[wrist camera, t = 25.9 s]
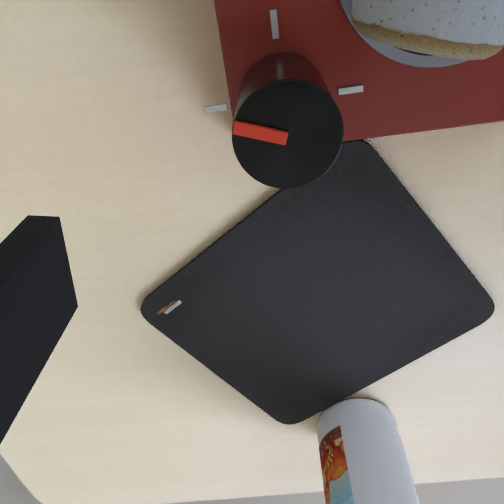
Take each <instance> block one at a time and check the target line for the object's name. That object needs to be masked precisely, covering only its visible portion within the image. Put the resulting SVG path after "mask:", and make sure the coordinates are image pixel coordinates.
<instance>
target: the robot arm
mask: <svg viewBox="0 0 504 504" xmlns="http://www.w3.org/2000/svg"><path fill="white" fill-rule="evenodd" d="M77 307H78V304H77V300H76V295H75V290H74V285H73V280H72V276H71V271H70V266H69V261H68V256H67V251H66V247H65V242H64V237H63V232H62V227H61V223H60V218H59V217H51V216H29V215H28V216H27V217H26V218H25V219H24V220H23V221H22V222H21V223H20V224H19V225H18V226H17V227H16V228H15V229H14V230H13V231H12V232H11V233H10V234H9V235H8V236H7V237H6V238H5V239H4V240H3V241H2V242H1V243H0V444H1V442H2V440H3V438H4V437H5V435H6V433H7V431H8V430H9V428H10V426H11V424H12V422H13V421H14V419H15V417H16V415H17V414H18V412H19V410H20V408H21V407H22V405H23V403H24V401H25V399H26V398H27V396H28V394H29V392H30V391H31V389H32V387H33V385H34V383H35V382H36V380H37V378H38V376H39V375H40V373H41V371H42V369H43V368H44V366H45V364H46V362H47V360H48V359H49V357H50V355H51V353H52V352H53V350H54V348H55V346H56V344H57V343H58V341H59V339H60V337H61V336H62V334H63V332H64V330H65V329H66V327H67V325H68V323H69V321H70V320H71V318H72V316H73V314H74V313H75V311H76V309H77Z"/></svg>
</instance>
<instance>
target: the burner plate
mask: <svg viewBox="0 0 504 504" xmlns="http://www.w3.org/2000/svg"><path fill="white" fill-rule="evenodd" d="M339 1H340V4H341V7H342V9H343V11H344V13H345V15H346V17H347V18H348V20H349V22H350V23H351V25H352V26H353V28H354V29H355V31H356V32H357V33H358V34H359V35H360V36H361V37H362V39H363V40H364V41H365V42H366V43H367V44H369V45H370V46H371V47H372V48H374V49H375V50H376V51H377V52H379V53H381V54H383V55H384V56H386V57H388V58H390V59H392V60H395V61H397V62H400V63H403V64H407V65H412V66H416V67H444V66H449V65H454V64H459V63H462V62H465V61H468V60H465V59H454V58H445V57H438V56H434V55H429V54H423V53H418V52H413V51H409V50H404V49H400V48H397V47H393V46H390V45H386V44H383V43H379V42H377V41H374V40H372V39H369V38H367V37H365V36H363V35H361V34H360V33H359V32H358V31H357V29H356V28H355V26H354V24H353V22H352V12H351V11H352V0H339Z"/></svg>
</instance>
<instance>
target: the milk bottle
mask: <svg viewBox="0 0 504 504" xmlns="http://www.w3.org/2000/svg"><path fill="white" fill-rule="evenodd" d="M317 431H318V442H319V451H320V460H321V468H322V477H323V485H324V493H325V501H326V504H420V503H419V499H418V496H417V492H416V489H415V485H414V482H413V478H412V475H411V471H410V468H409V464H408V461H407V457H406V454H405V450H404V447H403V444H402V440H401V437H400V433H399V430H398V427H397V424H396V421H395V418H394V416H393V414H392V413H391V411H390V410H389V409H388V408H387V407H385V406H384V405H383V404H381V403H379V402H377V401H374V400H370V399H362V398H355V399H348V400H343V401H340V402H338V403H335V404H334V405H332V406H330V407H329V408H328V409H326V410H325V411H324V413H323V414H322V415H321V417H320V419H319V422H318V425H317Z"/></svg>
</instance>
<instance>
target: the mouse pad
mask: <svg viewBox="0 0 504 504" xmlns="http://www.w3.org/2000/svg"><path fill="white" fill-rule="evenodd" d="M493 312H494V303H493V300H492V299H491V297H490V296H489V294H488V293H487V292H486V291H485V289H484V288H483V287H482V286H481V284H480V283H479V282H478V280H477V279H476V278H475V277H474V275H473V274H472V273H471V271H470V270H469V269H468V268H467V266H466V265H465V264H464V263H463V261H462V260H461V259H460V257H459V256H458V255H457V254H456V252H455V251H454V250H453V248H452V247H451V246H450V245H449V243H448V242H447V241H446V239H445V238H444V237H443V236H442V234H441V233H440V232H439V231H438V229H437V228H436V227H435V225H434V224H433V223H432V222H431V220H430V219H429V218H428V217H427V215H426V214H425V213H424V212H423V210H422V209H421V208H420V206H419V205H418V204H417V203H416V201H415V200H414V199H413V198H412V196H411V195H410V194H409V193H408V191H407V190H406V189H405V187H404V186H403V185H402V184H401V182H400V181H399V180H398V179H397V177H396V176H395V175H394V174H393V172H392V171H391V170H390V168H389V167H388V166H387V165H386V163H385V162H384V161H383V160H382V158H381V157H380V156H379V154H378V153H377V152H376V151H375V150H374V149H373V148H372V147H371V146H370V145H369V144H368V143H366V142H364V141H362V140H350V141H345V142H343V144H342V148H341V151H340V153H339V156H338V157H337V159H336V161H335V163H334V164H333V165H332V167H331V168H330V169H329V170H328V171H327V172H326V173H325V174H324V175H323V176H321V177H320V178H319V179H317V180H316V181H314V182H312V183H310V184H307V185H305V186H301V187H297V188H289V189H283V188H282V189H281V190H280V191H278V192H277V193H276V194H275V195H273V196H272V197H271V198H270V199H268V200H267V201H266V202H265V203H263V204H262V205H261V206H259V207H258V208H257V209H256V210H254V211H253V212H252V213H251V214H249V215H248V216H247V217H246V218H244V219H243V220H242V221H241V222H239V223H238V224H237V225H236V226H234V227H233V228H232V229H231V230H229V231H228V232H227V233H226V234H224V235H223V236H222V237H221V238H219V239H218V240H217V241H216V242H214V243H213V244H212V245H211V246H209V247H208V248H207V249H206V250H204V251H203V252H202V253H201V254H199V255H198V256H197V257H196V258H194V259H193V260H192V261H191V262H189V263H188V264H187V265H186V266H184V267H183V268H182V269H181V270H179V271H178V272H177V273H176V274H174V275H173V276H172V277H171V278H169V279H168V280H167V281H166V282H164V283H163V284H162V285H161V286H159V287H158V288H157V289H156V290H154V291H153V292H152V293H151V294H149V295H148V296H147V297H146V298H145V300H144V301H143V303H142V306H141V313H142V315H143V317H144V318H145V319H146V320H147V321H148V322H149V323H150V324H151V325H153V326H154V327H155V328H157V329H158V330H159V331H160V332H162V333H163V334H164V335H166V336H167V337H168V338H170V339H171V340H172V341H173V342H175V343H176V344H177V345H179V346H180V347H181V348H183V349H184V350H185V351H186V352H188V353H189V354H190V355H192V356H193V357H194V358H196V359H197V360H198V361H199V362H201V363H202V364H203V365H205V366H206V367H207V368H209V369H210V370H211V371H212V372H214V373H215V374H216V375H218V376H219V377H220V378H222V379H223V380H224V381H226V382H227V383H228V384H229V385H231V386H232V387H233V388H235V389H236V390H237V391H239V392H240V393H241V394H242V395H244V396H245V397H246V398H248V399H249V400H250V401H252V402H253V403H254V404H256V405H257V406H258V407H259V408H261V409H262V410H263V411H265V412H266V413H267V414H269V415H270V416H271V417H273V418H274V419H275V420H277V421H279V422H281V423H283V424H296V423H299V422H302V421H304V420H306V419H307V418H309V417H311V416H313V415H315V414H317V413H319V412H320V411H322V410H324V409H326V408H328V407H330V406H331V405H333V404H335V403H337V402H339V401H341V400H343V399H344V398H346V397H348V396H350V395H352V394H354V393H355V392H357V391H359V390H361V389H363V388H365V387H367V386H368V385H370V384H372V383H374V382H376V381H378V380H379V379H381V378H383V377H385V376H387V375H389V374H391V373H392V372H394V371H396V370H398V369H400V368H402V367H403V366H405V365H407V364H409V363H411V362H413V361H414V360H416V359H418V358H420V357H422V356H424V355H425V354H427V353H429V352H431V351H433V350H435V349H436V348H438V347H440V346H442V345H444V344H446V343H447V342H449V341H451V340H453V339H455V338H457V337H458V336H460V335H462V334H464V333H466V332H468V331H469V330H471V329H473V328H475V327H477V326H479V325H480V324H482V323H483V322H485V321H486V320H487V319H489V318H490V317H491V315H492V314H493Z"/></svg>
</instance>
